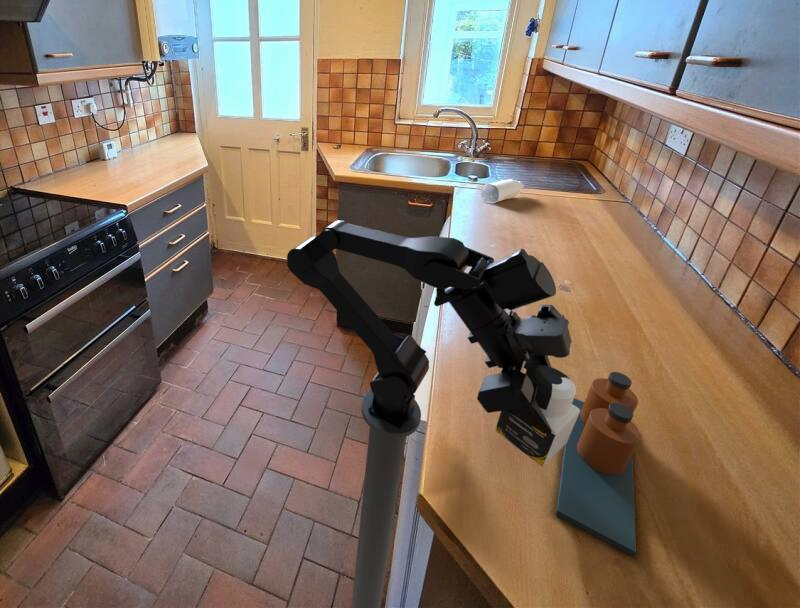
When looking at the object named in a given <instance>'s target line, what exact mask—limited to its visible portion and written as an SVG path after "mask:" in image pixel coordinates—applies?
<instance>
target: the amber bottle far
mask: <svg viewBox="0 0 800 608" xmlns="http://www.w3.org/2000/svg"><path fill="white" fill-rule="evenodd" d="M632 384H633V383H632V379H631V378H630V377H629V376H628V375H625V374H624V373H621V372H619V371H611V372H610V373H609V374H608V376H607V378H605V377H602V378H601V377H600V378H596V379H594V380H593V381H592V382H591V385H590V388H589V389H588V392H587V395H586V397H585V400H584V401H583V402H584V405H583V407H582V410H581V412H580V417H581V420H582V421H583V423H584V424H585V425H586V422H587V420H588V418H589V415H590V413H591V411H593V410H594V409H598V408H603V409H608V407H609V404H611V403H619V404H622V405H624V406H626V407H627V408H629V409H630V410H631V411H632V413H633V414H634V413H635V411H636V409H637V407H638V404H639V399H638V396H637V395H636V393H634V391H633V390H632V389H630V388H631V386H632Z"/></svg>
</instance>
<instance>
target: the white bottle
mask: <svg viewBox="0 0 800 608" xmlns="http://www.w3.org/2000/svg"><path fill="white" fill-rule="evenodd" d="M524 188H525V185H524V184H523V182H522V181H520V180H519V181H518V180H516V179H512V178H510V179H505V180H499V181H497V182H495V181H494V182H490V183H486V184H483V186H482V187H481V190H480V195H481V198H482V199H483V198H485V199H483V201H484V202H485V203H487V204H495V203H498V202H502V201H504V200H509V199H514V198H515V197H517V196H518V195H519V194H520V193H521V192H522V191H523V190H524ZM491 196H492V197H491Z"/></svg>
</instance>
